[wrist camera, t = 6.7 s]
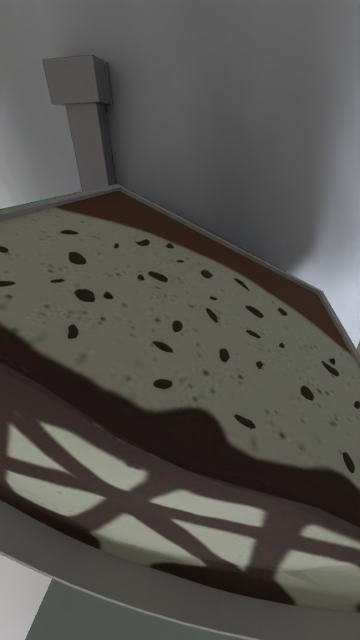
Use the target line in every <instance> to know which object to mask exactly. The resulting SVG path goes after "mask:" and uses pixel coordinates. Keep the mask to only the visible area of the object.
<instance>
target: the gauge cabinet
mask: <svg viewBox="0 0 360 640" xmlns="http://www.w3.org/2000/svg"><path fill="white" fill-rule="evenodd" d="M25 640H247V639H242V638H237V637H232V636H228V635H223V634H219V633H215V632H211V631H207V630H203V629H199V628H195V627H191V626H187V625H183V624H179V623H176V622H173V621H169V620H166V619H162V618H159V617H156V616H152V615H149V614H146V613H142V612H139V611H136V610H134V609H131V608H128V607H125V606H122V605H119V604H116V603H113V602H110V601H107V600H104V599H102V598H99V597H97V596H94V595H91V594H89V593H86V592H84V591H81V590H78V589H76V588H73V587H71V586H68V585H66V584H64V583H61V582H59V581H57V580H55V579H52V580H51V583H50V585H49V587H48V590H47V592H46V594H45V596H44V598H43V601H42V603H41V605H40V607H39V610H38V612H37V614H36V616H35V619H34V621H33V623H32V626H31V628H30V630H29V632H28V634H27V637H26V639H25Z"/></svg>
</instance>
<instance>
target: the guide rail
mask: <svg viewBox="0 0 360 640" xmlns="http://www.w3.org/2000/svg"><path fill="white" fill-rule="evenodd" d="M42 60H43V64H44V69H45V74H46V78H47V83H48V88H49V92H50V97H51V102H52V104H55V105H62V106H66V109H67V114H68V120H69V125H70V130H71V135H72V140H73V145H74V150H75V156H76V161H77V166H78V171H79V176H80V181H81V187H82V191H87V190H91V189H96V188H101V187H105V186H110V185H114V184H116V180H115V173H114V165H113V158H112V150H111V143H110V136H109V128H108V121H107V113H106V106H105V104H113V102H112V94H111V86H110V78H109V70H108V62H106V61H104V60H102V59H100V58H98V57H96V56H94V55H86V56H75V57H64V58H52V59H42Z"/></svg>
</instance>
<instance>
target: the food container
mask: <svg viewBox="0 0 360 640" xmlns="http://www.w3.org/2000/svg"><path fill="white" fill-rule="evenodd" d="M0 554H1V555H3V556H5V557H7V558H9V559H11V560H13V561H15V562H17V563H20V564H22V565H24V566H26V567H28V568H30V569H32V570H34V571H36V572H38V573H41V574H43V575H45V576H48V577H50V578H52V579H55V580H57V581H59V582H61V583H64V584H66V585H68V586H71V587H73V588H76V589H78V590H81V591H84V592H86V593H89V594H91V595H94V596H97V597H99V598H102V599H104V600H107V601H110V602H113V603H116V604H119V605H122V606H125V607H128V608H131V609H134V610H136V611H139V612H142V613H146V614H149V615H152V616H156V617H159V618H162V619H166V620H169V621H173V622H176V623H179V624H183V625H187V626H191V627H195V628H199V629H203V630H207V631H211V632H215V633H219V634H223V635H228V636H232V637H237V638H242V639H247V640H360V355H359V353H358V351H357V350H356V348H355V346H354V344H353V343H352V341H351V339H350V338H349V336H348V334H347V332H346V331H345V329H344V327H343V326H342V324H341V322H340V320H339V319H338V317H337V315H336V314H335V312H334V310H333V308H332V307H331V305H330V303H329V302H328V300H327V298H326V297H325V295H324V293H323V291H321V290H319V289H317V288H315V287H313V286H311V285H309V284H307V283H306V282H304V281H302V280H300V279H298V278H296V277H294V276H292V275H290V274H288V273H287V272H285V271H283V270H281V269H279V268H277V267H275V266H273V265H271V264H269V263H267V262H266V261H264V260H262V259H260V258H258V257H256V256H254V255H252V254H250V253H248V252H247V251H245V250H243V249H241V248H239V247H237V246H235V245H233V244H231V243H229V242H227V241H226V240H224V239H222V238H220V237H218V236H216V235H214V234H212V233H210V232H208V231H206V230H205V229H203V228H201V227H199V226H197V225H195V224H193V223H191V222H189V221H187V220H186V219H184V218H182V217H180V216H178V215H176V214H174V213H172V212H170V211H168V210H166V209H165V208H163V207H161V206H159V205H157V204H155V203H153V202H151V201H149V200H147V199H145V198H144V197H142V196H140V195H138V194H136V193H134V192H132V191H130V190H128V189H126V188H125V187H123V186H121V185H119V184H114V185H110V186H105V187H101V188H96V189H91V190H87V191H82V192H78V193H73V194H68V195H64V196H59V197H54V198H50V199H45V200H41V201H36V202H31V203H27V204H22V205H18V206H13V207H8V208H4V209H0Z"/></svg>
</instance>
